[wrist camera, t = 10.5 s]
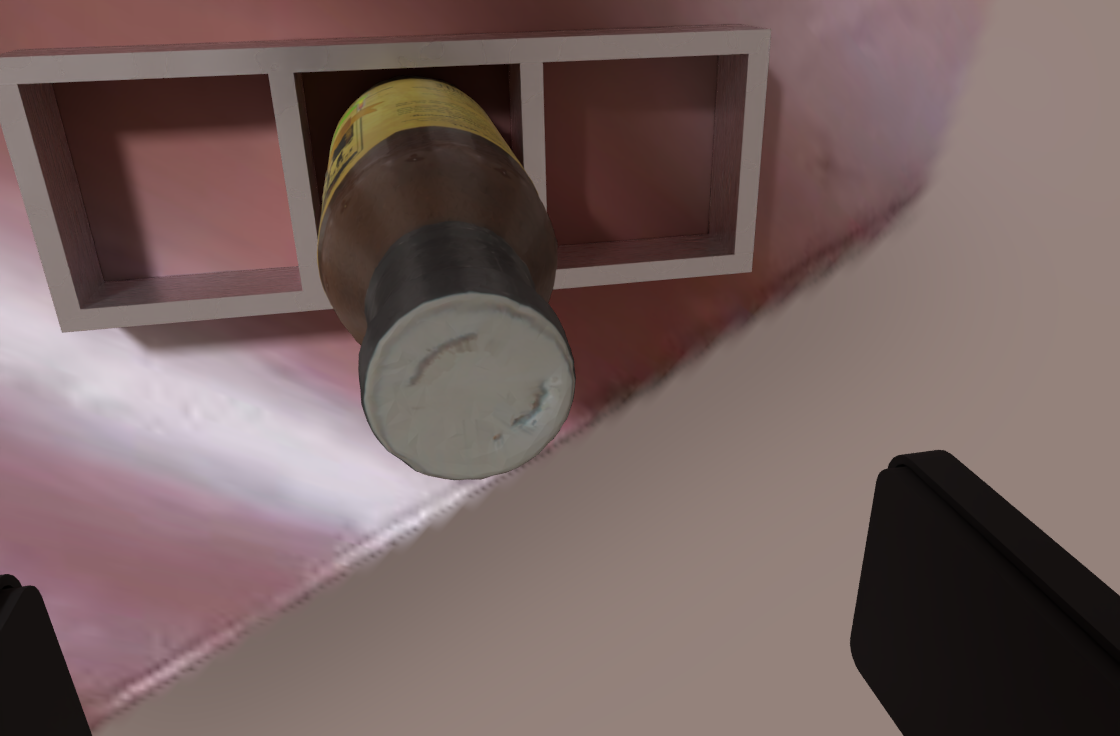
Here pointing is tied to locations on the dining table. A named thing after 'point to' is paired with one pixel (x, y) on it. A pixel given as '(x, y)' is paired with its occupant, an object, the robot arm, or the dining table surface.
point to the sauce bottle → (443, 282)
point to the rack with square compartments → (63, 229)
